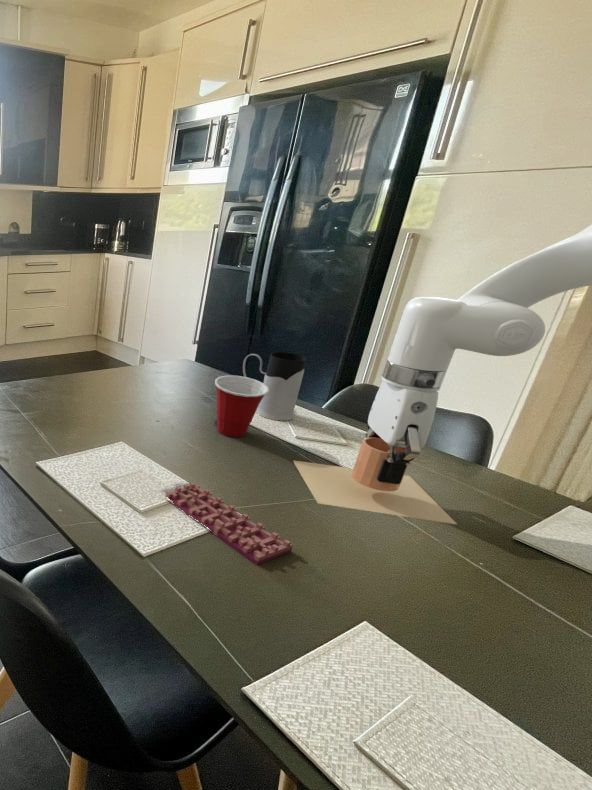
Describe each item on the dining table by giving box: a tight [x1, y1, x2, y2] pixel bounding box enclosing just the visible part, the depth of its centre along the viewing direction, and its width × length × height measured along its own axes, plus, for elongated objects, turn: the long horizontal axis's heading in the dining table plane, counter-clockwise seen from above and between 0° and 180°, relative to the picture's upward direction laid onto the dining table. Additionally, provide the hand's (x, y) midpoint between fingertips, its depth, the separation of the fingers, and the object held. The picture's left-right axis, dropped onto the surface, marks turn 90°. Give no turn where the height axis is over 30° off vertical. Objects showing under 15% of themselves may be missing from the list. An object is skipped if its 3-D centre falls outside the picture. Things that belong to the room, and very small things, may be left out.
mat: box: [292, 460, 458, 525], centre depth 87 cm, size 20×20×1 cm
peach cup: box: [351, 437, 409, 491], centre depth 85 cm, size 7×7×7 cm
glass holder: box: [242, 351, 307, 422], centre depth 121 cm, size 9×14×15 cm, turn 39°
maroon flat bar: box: [165, 482, 294, 566], centre depth 78 cm, size 7×19×2 cm, turn 24°
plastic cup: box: [214, 375, 269, 438], centre depth 109 cm, size 11×11×12 cm
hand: (378, 470), depth 85 cm, fingers closed on peach cup, 6 cm apart
